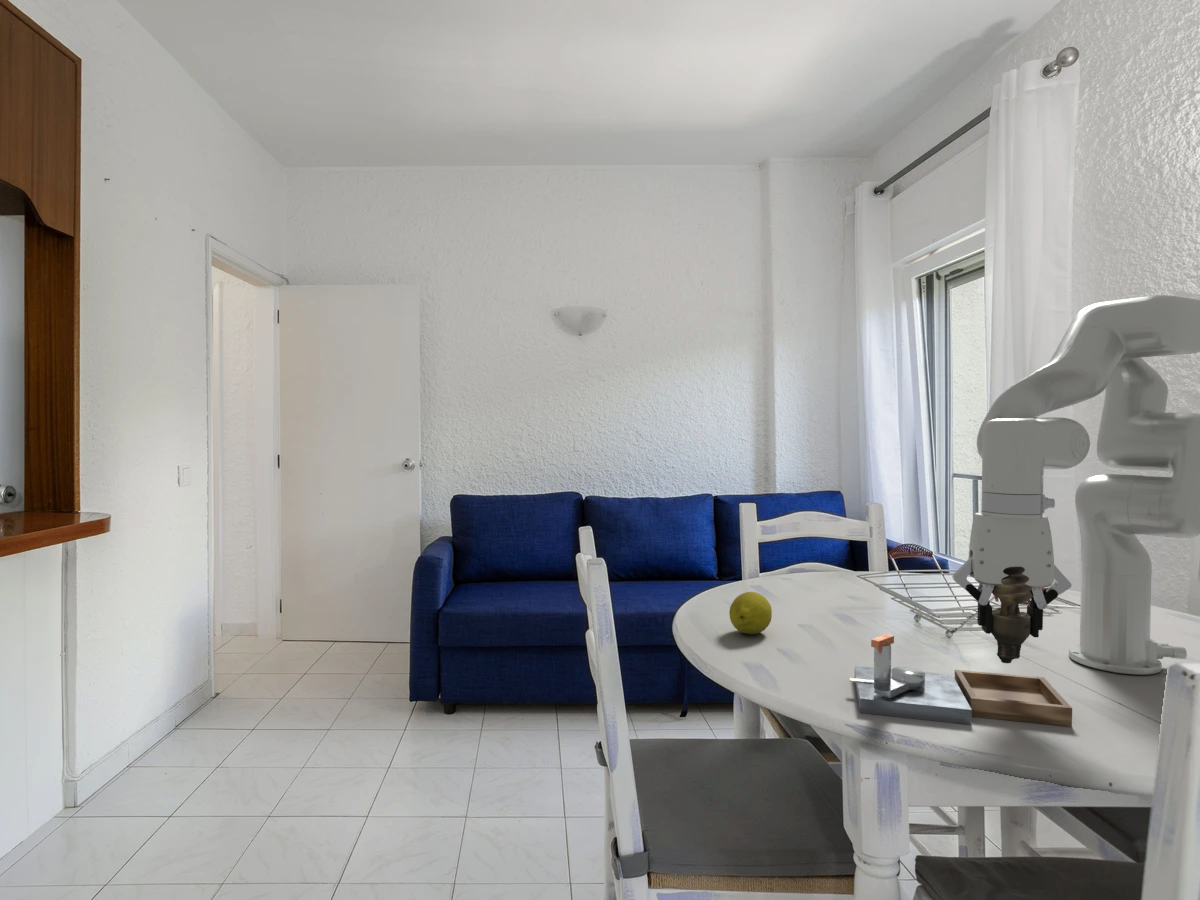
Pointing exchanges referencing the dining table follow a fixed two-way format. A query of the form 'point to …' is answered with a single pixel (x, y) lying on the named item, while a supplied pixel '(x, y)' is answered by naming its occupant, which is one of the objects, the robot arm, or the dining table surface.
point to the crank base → (915, 699)
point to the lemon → (750, 613)
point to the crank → (900, 675)
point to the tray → (1013, 698)
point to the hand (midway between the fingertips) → (1009, 631)
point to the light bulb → (1011, 614)
